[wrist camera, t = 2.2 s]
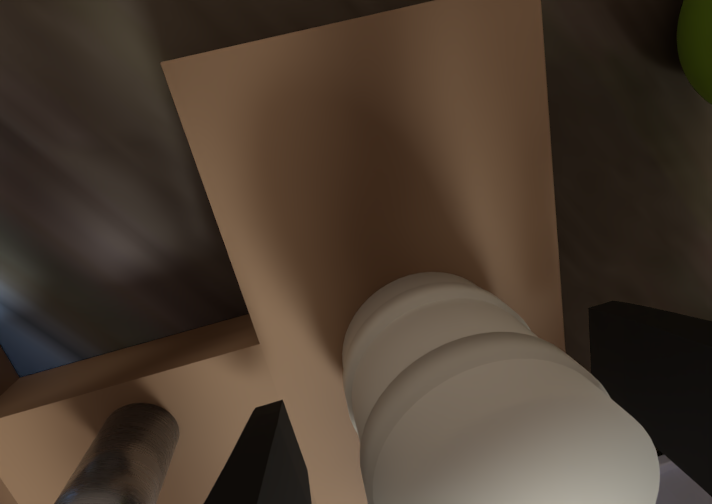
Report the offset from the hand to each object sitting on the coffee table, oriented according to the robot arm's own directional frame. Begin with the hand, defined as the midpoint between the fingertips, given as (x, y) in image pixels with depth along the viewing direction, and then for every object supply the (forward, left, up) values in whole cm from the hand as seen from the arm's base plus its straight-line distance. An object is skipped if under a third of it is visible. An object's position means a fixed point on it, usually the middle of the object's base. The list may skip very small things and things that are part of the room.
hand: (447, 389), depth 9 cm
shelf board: (+4, -1, -4) cm, 6 cm away
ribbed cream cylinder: (0, 0, -2) cm, 2 cm away
